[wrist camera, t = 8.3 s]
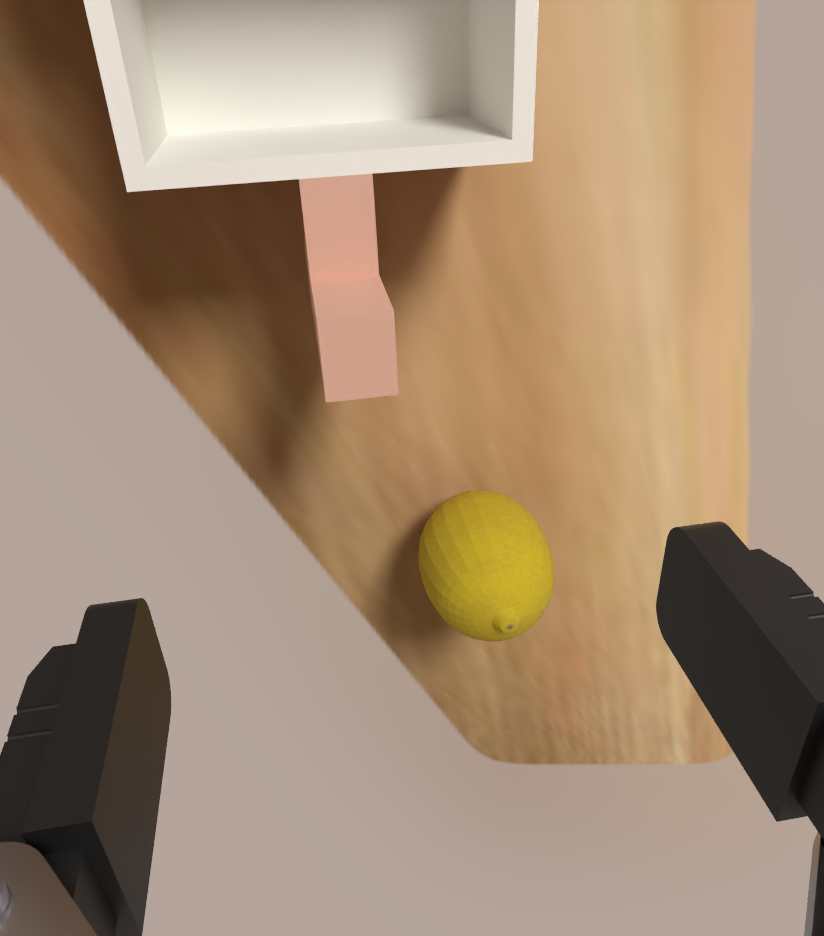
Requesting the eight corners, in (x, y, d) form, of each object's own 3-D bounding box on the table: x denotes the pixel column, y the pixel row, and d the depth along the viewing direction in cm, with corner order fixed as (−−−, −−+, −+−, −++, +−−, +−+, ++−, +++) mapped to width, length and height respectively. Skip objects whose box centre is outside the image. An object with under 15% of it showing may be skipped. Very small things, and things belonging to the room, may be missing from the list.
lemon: (418, 568, 37) (452, 694, 31) (394, 476, 34) (425, 592, 28) (528, 539, 37) (585, 657, 31) (513, 444, 35) (573, 552, 28)
